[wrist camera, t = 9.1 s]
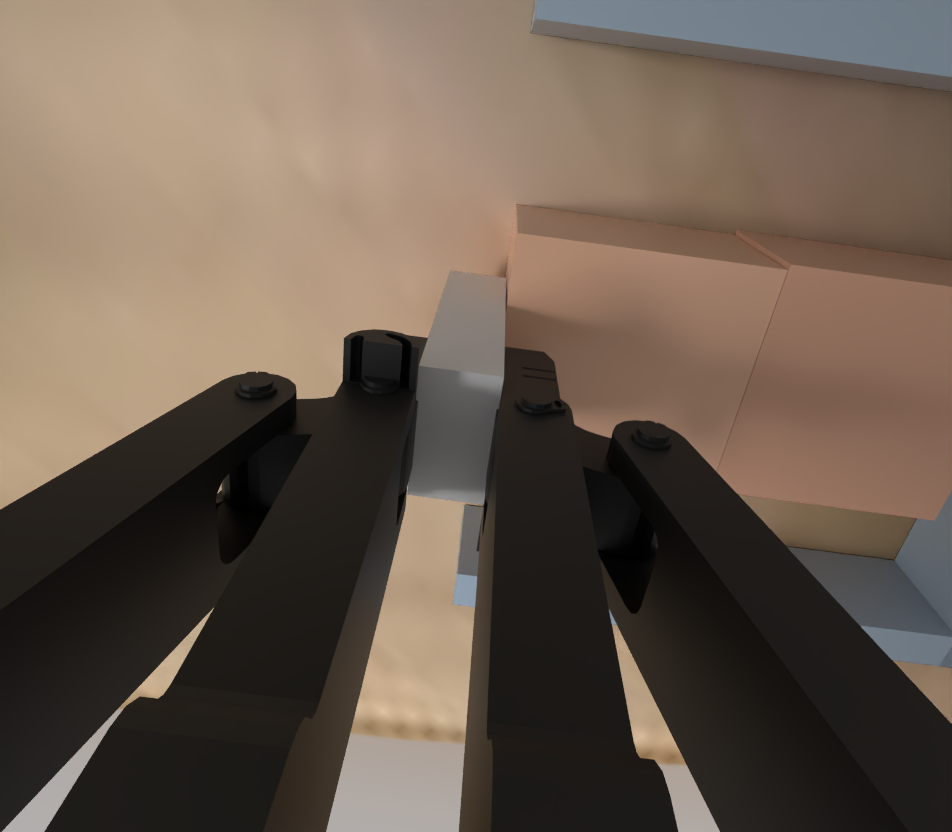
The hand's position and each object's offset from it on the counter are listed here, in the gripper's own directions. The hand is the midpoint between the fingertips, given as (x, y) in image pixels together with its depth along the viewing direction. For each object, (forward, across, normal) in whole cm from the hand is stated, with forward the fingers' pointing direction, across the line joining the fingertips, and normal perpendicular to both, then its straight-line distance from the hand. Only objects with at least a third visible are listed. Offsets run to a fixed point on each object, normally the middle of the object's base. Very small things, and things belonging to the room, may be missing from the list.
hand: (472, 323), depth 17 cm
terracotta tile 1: (+2, +4, 0) cm, 4 cm away
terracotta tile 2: (+2, +10, 0) cm, 10 cm away
